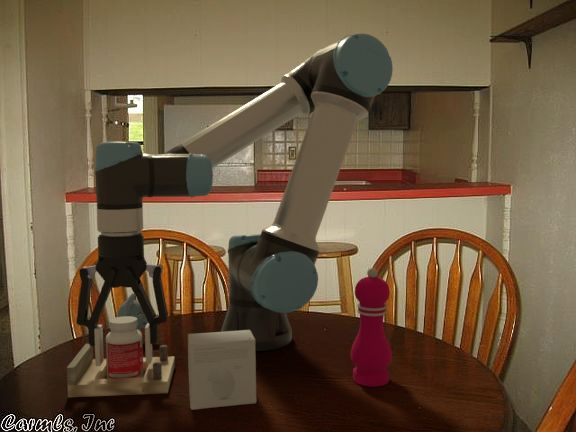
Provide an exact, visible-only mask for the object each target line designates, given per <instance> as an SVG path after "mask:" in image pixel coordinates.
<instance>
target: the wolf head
mask: <svg viewBox="0 0 576 432" xmlns="http://www.w3.org/2000/svg"><path fill="white" fill-rule="evenodd" d="M116 315H117V316H116V317H123V316H131V317H136V318H137V319H138V326H137V328H136V329H137V330H139V331H140V332H141V333H142V329H145V327H146V325H147V323H148V321H147V319H146V316H145V314H144V312H143V310H142V308H141V306H140V304H139V302H138V300H137V298H136V295H135V293H134V292H133V293H131V294H130V295H129V297H127V299H126V300H125V301H123V302H122V304H121V305H120V306H119V308H118V311H117V314H116ZM156 315H158V314H156Z"/></svg>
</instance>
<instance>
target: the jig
mask: <svg viewBox="0 0 576 432" xmlns="http://www.w3.org/2000/svg"><path fill="white" fill-rule="evenodd" d="M93 347H94V346H90V345H89V343H85V344H84V346H83V347H82V348H81V349H80V350H79V351H78V353H77V354H76V355H75V357H74V358H73V359H72V361H71V362H70V363H69V364H68V365H67V366H66V380H67V382H66V383H67V398H81V397H84V398H85V397H104V396H105V397H106V396H107V397H109V396H110V397H111V396H127V395H128V396H132V395H151V394H152V395H157V394H168V393H169V390H170V386H171V382H172V379H173V375H174V370H175V368H176V366H175V365H176V364H175V362H176V360H175V359H176V357H175V356H173V355H172V356H168V354H169V353H168V345H167V344H162V345H159V356H152V361H151V364H146V356H145V357H144V356H143V373H144V374H143V377H141V378H116V379H107V367H106V358H104V361H103V362H102V364H101V366H96V361H95V358H94V353H93V352H94V348H93Z"/></svg>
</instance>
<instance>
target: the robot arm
mask: <svg viewBox="0 0 576 432" xmlns="http://www.w3.org/2000/svg"><path fill="white" fill-rule="evenodd" d="M393 70H394V69H393V60H392V58H391V56H390V54H389V51H388V49H387V47H386V46H385V44H384V43H383V42H382V41H381V40H380V39H378V38H377V37H375V36H374V35H371V34H368V33H361V32H360V33H354V34H349V35H346V36H343V37H342V38H340V39H339V41H338V40H337V41H335V42H334V43H332V44H328V45H327V46H325V47H322V48H320V49H318V50H317V51H316V52H314V53H313V54H312V55H310V57H308V58H307V59H305V60H304V61H303V62H301V64H299V65H297V67H295V68H294V69H292V70H290V71H289V72H288V73H286V74H284V75H282V77H281V80H280V83H278V84H277V85H275V86H274V87H271V88H270V89H269V90H267V91H265V92H264V93H262V94H260V95H259V96H257V97H255V98H254V99H252V100H251V101H249V102H247V103H246V104H244V105H242V106H240V107H238V108H237V109H235V110H234V111H232V112H230V113H229V114H227V115H225V116H224V117H222V118H221V119H219V120H217V121H216V122H214V123H212V124H210V125H209V126H207V127H205V128H203V129H202V130H200V131H199V132H196V133H195V134H194V135H192V136H190V137H189V138H187V139H186V140H184V141H182V142H181V143H179V144H177V145H175V146H174V147H172V148H171V149H169V150H168V151H166V152H164V153H159V154H156V153H153V154H151V153H144V152H143V150H142V146H141V143H139V142H137V141H135V142H134V141H102V142H101V143H98V145H97V146H96V147H95V156H94V157H95V158H94V159H95V160H94V161H95V163H94V165H95V166H94V173H95V174H94V175H95V176H94V177H95V196H96V197H95V198H96V227H97V228H96V231H98V232H99V233H100V234H99V235H98V236H97V253H98V254H97V258H98V260H97V262H96V264H95V265H91V266H90V265H89V266H88V265H84V266H83V267H81V268H80V269H79V272H78V273H79V277H80V282H81V284H80V292H79V299H78V307H77V315H76V325H78V326H84V327H87V329H88V331H87V332H88V344H89V345H90V346H93V347H94V357H95V358H94V359H95V361H96V366H101V364H102V362H103V361H104V359H105V357H104V330H103V327H104V326H103V324H99V321H100V317H101V315H102V313H103V310H104V308H105V305H106V303H107V301H108V299H109V295H110V293H111V291H112V289H114V288H117V289H118V288H120V287H122V288H130V289H131V290H132V292H133V293H134V294H135V298H136V300H137V301H138V302H139V304H140V306H141V308H142V310H143V312H144V314H145V316H146V319H147V321H148V323H147V325H146V327H145V328H144V337H145V338H144V343H145V344H144V346H145V357H146V364H151V361H152V357H153V345H156V344H157V342H158V340H159V325H161V324H164V323H166V322H167V321H168V317H169V311H168V307H167V306H168V305H167V302H166V296H165V292H164V290H165V289H164V286H163V280H162V275H163V269H164V267H163V265H162V264H161V263H159V264H150V263H147V261H146V258H145V247H144V245H145V241H144V240H145V237H144V235H143V234H142V231H143V230H144V216H143V215H144V210H143V205H144V204H143V200H144V199H143V198H188V197H189V198H191V199H192V198H195V197H203V196H204V197H205V196H208V195H209V194H210V193H211V192H212V189H213V188H212V187H213V182H214V180H213V179H214V176H213V173H214V172H213V169H214V168H215V167H217V166H218V165H220V164H222V163H223V162H225V161H227V160H228V159H230V158H231V157H233V156H234V155H235V156H236V155H237V154H238V153H240V152H242V151H243V150H245V149H246V148H248V147H250V146H251V145H252V144H254V143H256V142H258V141H259V140H261V139H262V138H264V137H265V136H267V135H269V134H271V133H272V132H274V131H276V130H277V129H278V128H280V127H282V126H283V125H285V124H286V123H288V122H290V121H291V120H293V119H295V118H297V117H298V116H301V117H307V116H309V115H310V114H311V117H310V119H309V123H308V126H307V128H306V131H305V134H304V137H303V139H302V142H301V144H300V148H299V151H298V153H297V156H296V158H295V162H294V165H293V167H292V169H291V173H290V175H289V178H288V181H287V184H286V186H285V188H284V189H285V190H284V192H283V195H282V198H281V201H280V204H279V205H278V206H279V207H278V209H277V212H276V213H275V217H274V221H273V222H272V223H271V224H270V225H269V226H266V227H265V228H263V229H261V233H260V234H244V235H243V234H242V235H239V234H238V235H232V236H231V237H230V238H229V239H228V246H227V247H228V249H227V254H228V255H227V256H228V260H227V261H228V308H227V310H226V314H225V317H224V321H223V324H222V327H221V331H220V332H226V331H240V330H250V331H251V332H252V334H253V336H254V338H255V352H264V351H271V350H277V349H281V348H284V347H286V346H288V345H289V344H290V343H291V342H292V340H293V339H292V337H293V336H292V327H291V323H290V321H289V319H288V315H287V313H292V312H295V311H297V310H299V309H301V308H302V309H303V308H304V306H306V305H307V304H309V302H310V301H311V300H312V298H313V297H314V295H315V293H316V291H317V289H318V284H319V275H318V270H317V268H316V262H317V259H318V257H319V254H320V246H319V245H318V242H317V235H318V233H319V229H320V227H321V224H322V221H323V218H324V215H325V213H326V210H327V207H328V204H329V202H330V199H331V196H332V193H333V190H334V188H335V184H336V182H337V179H338V177H339V173H340V170H341V168H342V165H343V162H344V159H345V156H346V153H347V150H348V148H349V146H350V142H351V141H352V137H353V134H354V131H355V129H356V125H357V122H360V121H361V120H363V119H365V118H367V117H368V115H369V113H370V110H371V108H372V105H373V103H374V100H375V97H376V96H378V95H380V94H382V92H384V91H385V90H386V88H387V87H389V85H390V82H391V81H392V77H393ZM145 272H148V276H149V278H151V279H152V287H153V291H154V297H155V302H156V307H157V308H156V309H157V313H158V314H157V315H156V312H155V309H154V307H153V305H152V302H151V301H150V299H149V296H148V294H147V292H146V291H145V290H146V289H145V288H144V285H143V282H142V280H141V277H142V276H143V274H144V273H145ZM96 273H98V275H99V276H100V278H102V280H103V285H102V286H101V289H100V293H99V295H98V298H97V300H96V302H95V306H94V308H93V310H92V313H91V314H90V316H88V315H89V309H90V301H91V300H90V299H91V292H92V286H93V285H92V284H93V278H94V277H95V275H96Z"/></svg>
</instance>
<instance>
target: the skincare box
mask: <svg viewBox="0 0 576 432" xmlns="http://www.w3.org/2000/svg"><path fill="white" fill-rule="evenodd" d="M187 351H188V353H187V354H188V355H187V357H188V358H187V364H188V392H189V394H188V395H189V405H190V406H189V407H190V409H191V410H192V411H193V410H202V409H210V408H220V407H231V406H233V407H234V406H240V405H253V404H256V403H257V371H256V370H257V369H256V368H257V364H256V363H257V360H256V356H257V355H256V351H255V338H254V336H253V334H252V332H251V331H250V330H240V331H226V332H221V331H215V332H199V333H187Z"/></svg>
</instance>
